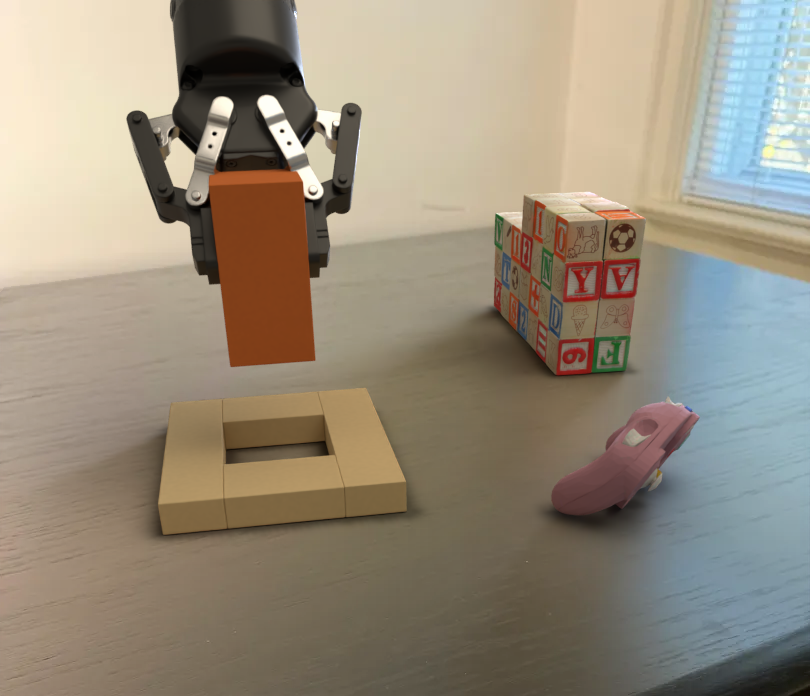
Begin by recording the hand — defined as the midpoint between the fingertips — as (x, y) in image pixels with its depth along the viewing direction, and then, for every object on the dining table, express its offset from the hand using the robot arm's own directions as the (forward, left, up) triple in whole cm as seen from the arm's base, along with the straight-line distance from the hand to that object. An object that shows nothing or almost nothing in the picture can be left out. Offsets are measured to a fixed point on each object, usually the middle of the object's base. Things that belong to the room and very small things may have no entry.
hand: (263, 272), depth 50 cm
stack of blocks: (+16, +33, -13) cm, 39 cm away
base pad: (-1, +2, -13) cm, 13 cm away
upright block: (-1, +2, -5) cm, 6 cm away
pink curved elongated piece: (+21, +1, -13) cm, 25 cm away
